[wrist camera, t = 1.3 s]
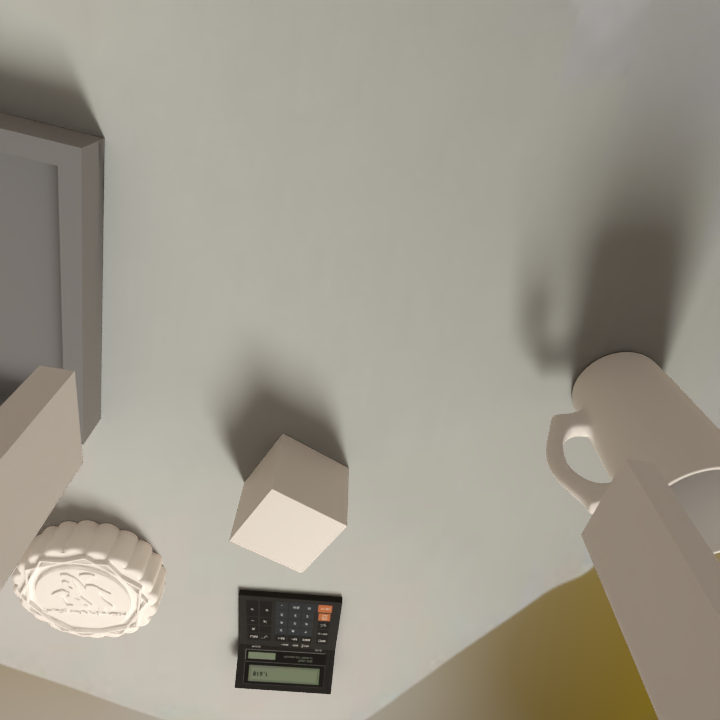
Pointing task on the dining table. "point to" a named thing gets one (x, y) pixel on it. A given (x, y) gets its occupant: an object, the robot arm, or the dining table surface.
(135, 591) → the mooncake
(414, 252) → the dining table surface
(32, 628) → the dining table surface
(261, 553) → the white cube
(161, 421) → the dining table surface
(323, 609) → the calculator
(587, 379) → the mug
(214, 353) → the dining table surface
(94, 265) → the tray
